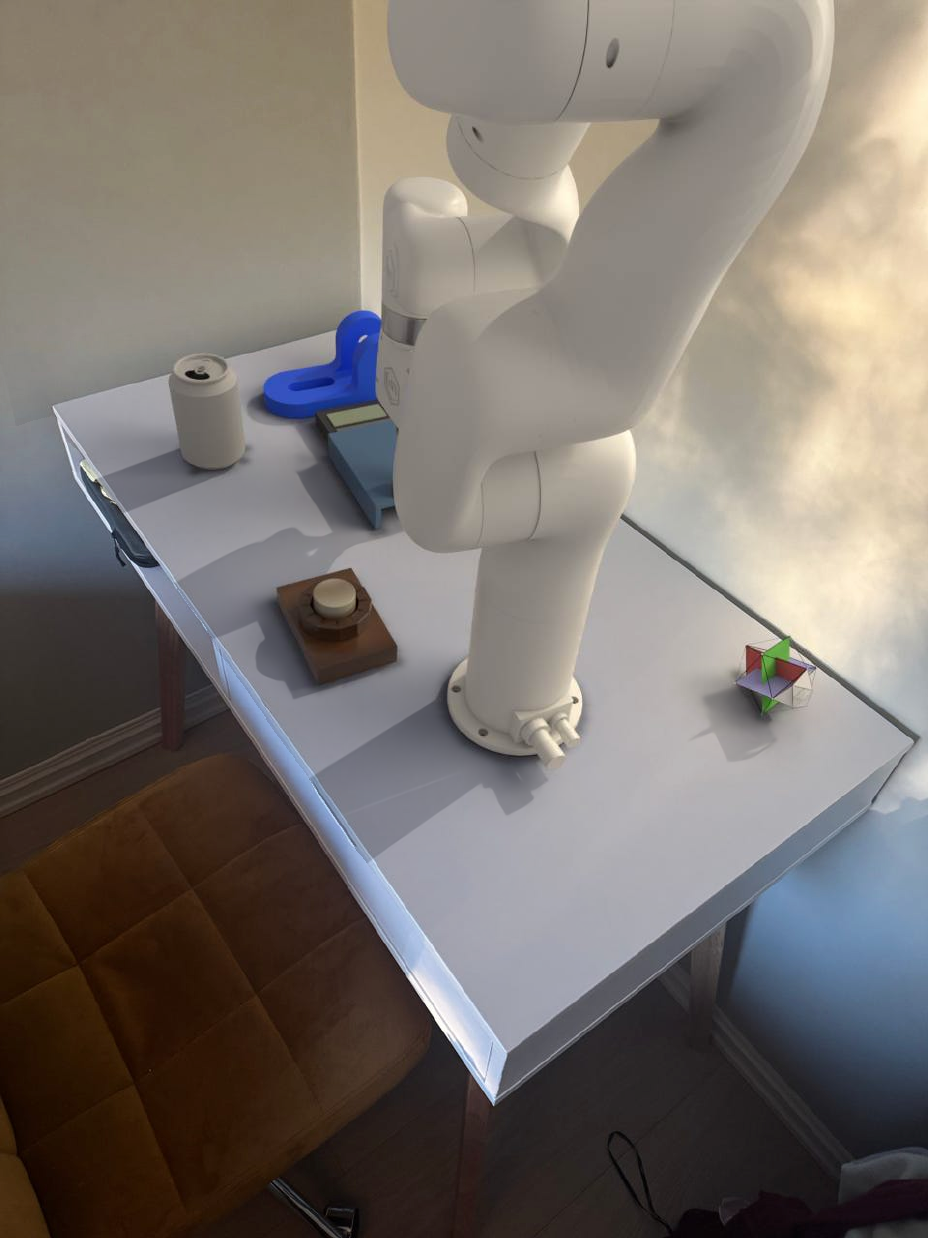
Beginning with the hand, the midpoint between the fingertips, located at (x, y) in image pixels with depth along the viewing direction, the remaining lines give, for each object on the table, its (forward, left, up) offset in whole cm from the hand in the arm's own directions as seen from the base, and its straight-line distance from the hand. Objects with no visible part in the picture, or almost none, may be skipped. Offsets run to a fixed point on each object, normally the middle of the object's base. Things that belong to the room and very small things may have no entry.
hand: (412, 469), depth 101 cm
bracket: (+26, 0, -5) cm, 26 cm away
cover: (+5, 0, -5) cm, 7 cm away
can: (+18, +18, -5) cm, 26 cm away
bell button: (-15, +15, -2) cm, 22 cm away
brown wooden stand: (-15, +15, -5) cm, 22 cm away
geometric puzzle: (-39, -20, -5) cm, 44 cm away
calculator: (+13, 0, -5) cm, 14 cm away
